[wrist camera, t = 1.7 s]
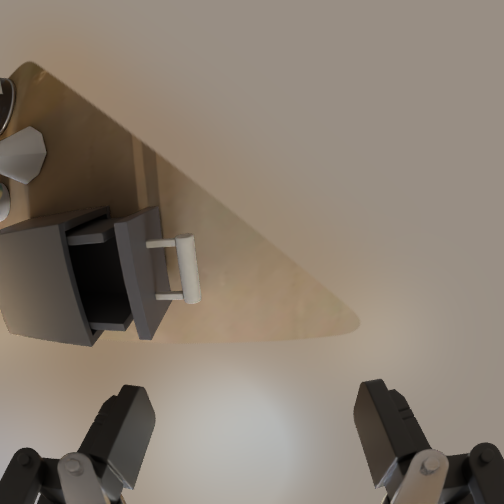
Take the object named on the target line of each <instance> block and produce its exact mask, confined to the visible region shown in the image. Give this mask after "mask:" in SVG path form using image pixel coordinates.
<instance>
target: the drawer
mask: <svg viewBox="0 0 504 504" xmlns="http://www.w3.org/2000/svg"><path fill="white" fill-rule="evenodd" d="M65 235H66V240H67V245H68V250H69V255H70V259H71V264H72V268H73V272H74V276H75V280H76V284H77V287H78V291H79V295H80V298H81V301H82V305H83V308H84V311H85V314H86V317H87V320H88V323H89V326H90V329H97V330H112V331H126V329H127V328H128V327H129V325H130V324H131V322H132V321H133V319H134V322H135V325H136V329H137V332H138V336H139V339H140V340H152V338H153V336H154V334H155V332H156V330H157V328H158V326H159V324H160V322H161V320H162V319H163V317H164V315H165V313H166V311H167V309H168V307H169V305H170V304H171V302H172V300H173V299H184V301H185V302H186V303H190V304H192V303H197V302H199V301H201V299H202V297H201V290H200V283H199V275H198V268H197V259H196V251H195V242H194V235H193V234H189V233H187V234H180V235H177V236H176V237H175V238H165V239H162V233H161V225H160V217H159V208H158V206H154V207H147V208H145V209H143V210H140V211H138V212H136V213H134V214H132V215H130V216H127V217H119V218H111V219H103V220H95V221H88V222H85V223H83V224H81V225H78V226H76V227H74V228H71V229H69V230H67V231H65ZM170 246H176V249H177V256H178V263H179V270H180V277H181V283H182V289H183V291H171V290H170V285H169V279H168V273H167V267H166V261H165V254H164V247H170Z"/></svg>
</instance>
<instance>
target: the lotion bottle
mask: <svg viewBox="0 0 504 504" xmlns="http://www.w3.org/2000/svg"><path fill="white" fill-rule="evenodd" d="M9 209H10V197H9V192H8V190H7V188H6V186H5V185H4V184H2V183H0V221H2V220H4V219H5V218H6V217H7V215H8V213H9Z"/></svg>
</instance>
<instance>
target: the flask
mask: <svg viewBox="0 0 504 504" xmlns="http://www.w3.org/2000/svg"><path fill="white" fill-rule="evenodd" d="M45 156H46V149H45V145H44V141H43V137H42V133H40V132H39V131H37V130H36V129H34V128H33V127H31V126H29V127H27V128H25V129H23V130H21V131H19V132H17V133H15V134H13V135H11V136H9V137H7V138H5V139H3V140H2V141H0V174H1V175H4V176H7V177H9V178H12V179H14V180H16V181H19V182H21V183H24V184H28V183H29V182H30V181H31V180H32V179H33V178H35V177H36V176H37V175H38V174H39V172H40V169H41V167H42V164H43V161H44V158H45Z"/></svg>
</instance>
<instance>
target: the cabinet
mask: <svg viewBox="0 0 504 504" xmlns="http://www.w3.org/2000/svg"><path fill="white" fill-rule="evenodd" d="M103 219H111V216H110V209H109V206H101V207H95V208H88V209H82V210H76V211H70V212H64V213H58V214H52V215H47V216H42V217H37V218H31V219H28V220H25V221H22V222H20V223H17V224H14V225H11V226H9V227H6V228H4V229H1V230H0V310H1V313H2V316H3V319H4V321H5V324H6V326H7V328H8V331H9V333H11V334H15V335H20V336H25V337H30V338H35V339H41V340H47V341H53V342H59V343H66V344H73V345H81V346H89V347H92V346H93V345H94V343H95V342H96V341H97V339H98V338H99V337H100V335H101V334H102V333H103V332H104V330H97V329H90V326H89V323H88V320H87V317H86V314H85V311H84V308H83V305H82V301H81V298H80V295H79V291H78V287H77V284H76V280H75V276H74V272H73V268H72V264H71V259H70V255H69V250H68V245H67V240H66V235H65V231H67V230H69V229H71V228H74V227H76V226H78V225H81V224H83V223H85V222H88V221H95V220H103Z"/></svg>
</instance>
